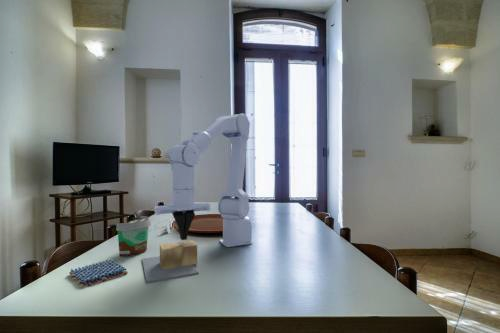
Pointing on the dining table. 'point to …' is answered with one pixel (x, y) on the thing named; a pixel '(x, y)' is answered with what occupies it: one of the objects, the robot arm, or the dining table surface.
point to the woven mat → (97, 273)
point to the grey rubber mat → (164, 270)
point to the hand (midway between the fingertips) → (183, 238)
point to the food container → (133, 236)
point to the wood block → (178, 254)
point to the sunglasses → (167, 225)
